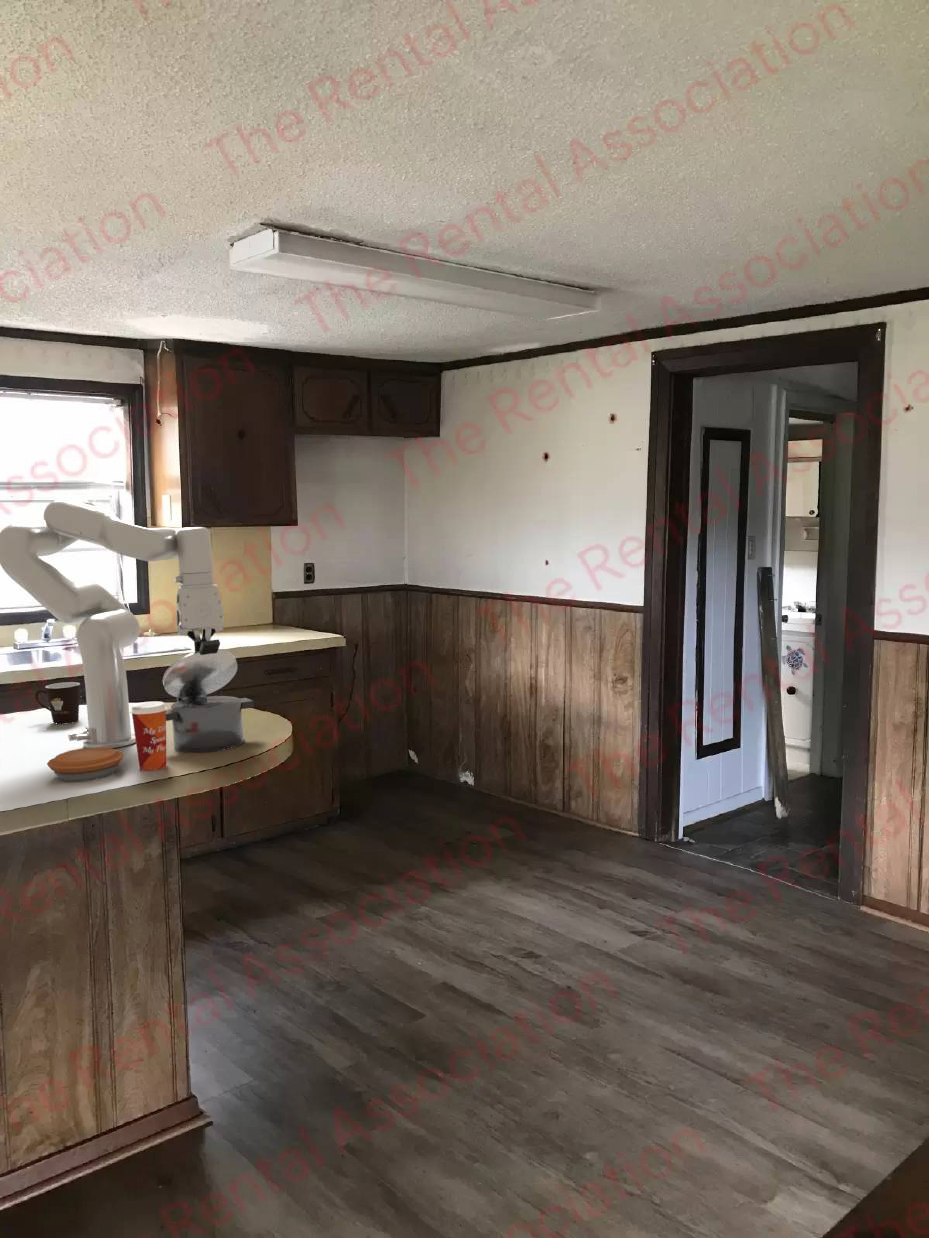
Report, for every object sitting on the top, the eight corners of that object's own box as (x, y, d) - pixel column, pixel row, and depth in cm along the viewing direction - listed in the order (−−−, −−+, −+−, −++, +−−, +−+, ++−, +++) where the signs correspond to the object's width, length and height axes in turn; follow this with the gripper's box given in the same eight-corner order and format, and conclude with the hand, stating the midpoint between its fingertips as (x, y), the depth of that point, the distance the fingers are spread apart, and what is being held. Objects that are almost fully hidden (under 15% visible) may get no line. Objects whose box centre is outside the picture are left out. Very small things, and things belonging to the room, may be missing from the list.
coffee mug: (89, 719, 274) (86, 683, 273) (62, 726, 267) (58, 689, 266) (62, 716, 281) (59, 680, 280) (35, 722, 273) (31, 686, 272)
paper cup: (151, 773, 216) (146, 709, 214) (127, 769, 220) (122, 706, 218) (179, 764, 222) (174, 702, 221) (155, 760, 226) (150, 699, 225)
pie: (134, 775, 215) (133, 752, 215) (58, 789, 206) (56, 765, 206) (113, 761, 228) (111, 740, 227) (40, 774, 219) (38, 752, 218)
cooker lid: (174, 649, 227) (170, 639, 228) (158, 704, 241) (154, 694, 243) (248, 640, 237) (244, 630, 238) (228, 694, 251) (224, 684, 253)
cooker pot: (175, 758, 228) (171, 713, 227) (149, 743, 243) (146, 701, 242) (265, 742, 240) (262, 699, 239) (235, 729, 255) (232, 688, 254)
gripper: (170, 583, 229) (176, 663, 231) (233, 578, 237) (238, 655, 239) (159, 582, 235) (166, 660, 237) (221, 577, 243) (227, 652, 245)
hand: (202, 657), depth 238 cm, fingers closed
